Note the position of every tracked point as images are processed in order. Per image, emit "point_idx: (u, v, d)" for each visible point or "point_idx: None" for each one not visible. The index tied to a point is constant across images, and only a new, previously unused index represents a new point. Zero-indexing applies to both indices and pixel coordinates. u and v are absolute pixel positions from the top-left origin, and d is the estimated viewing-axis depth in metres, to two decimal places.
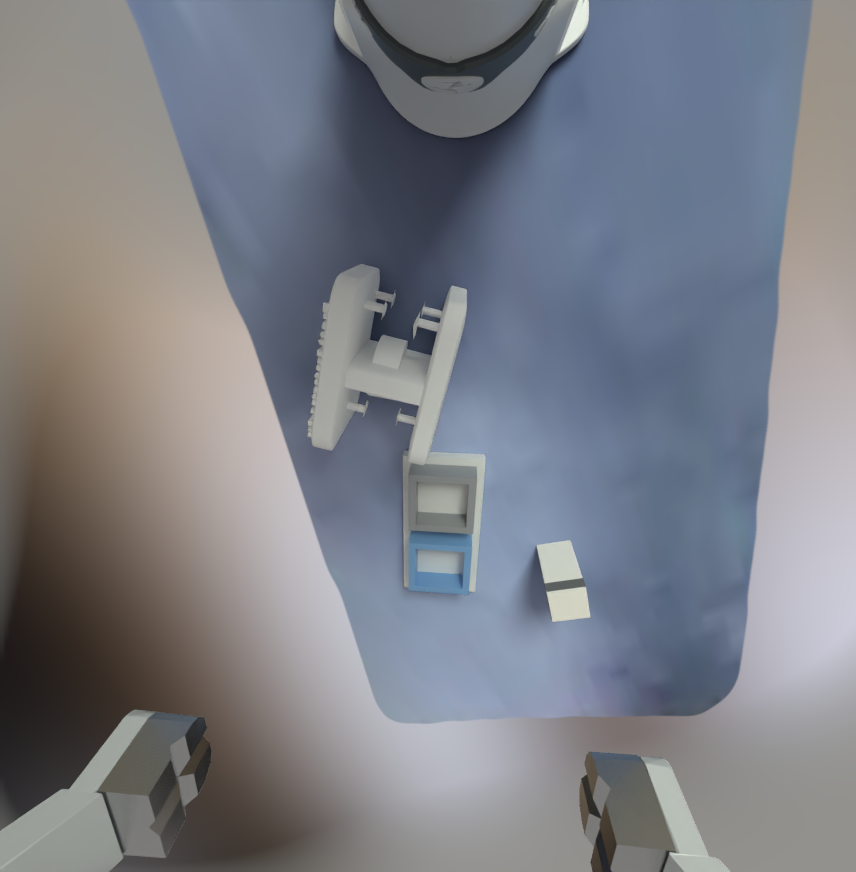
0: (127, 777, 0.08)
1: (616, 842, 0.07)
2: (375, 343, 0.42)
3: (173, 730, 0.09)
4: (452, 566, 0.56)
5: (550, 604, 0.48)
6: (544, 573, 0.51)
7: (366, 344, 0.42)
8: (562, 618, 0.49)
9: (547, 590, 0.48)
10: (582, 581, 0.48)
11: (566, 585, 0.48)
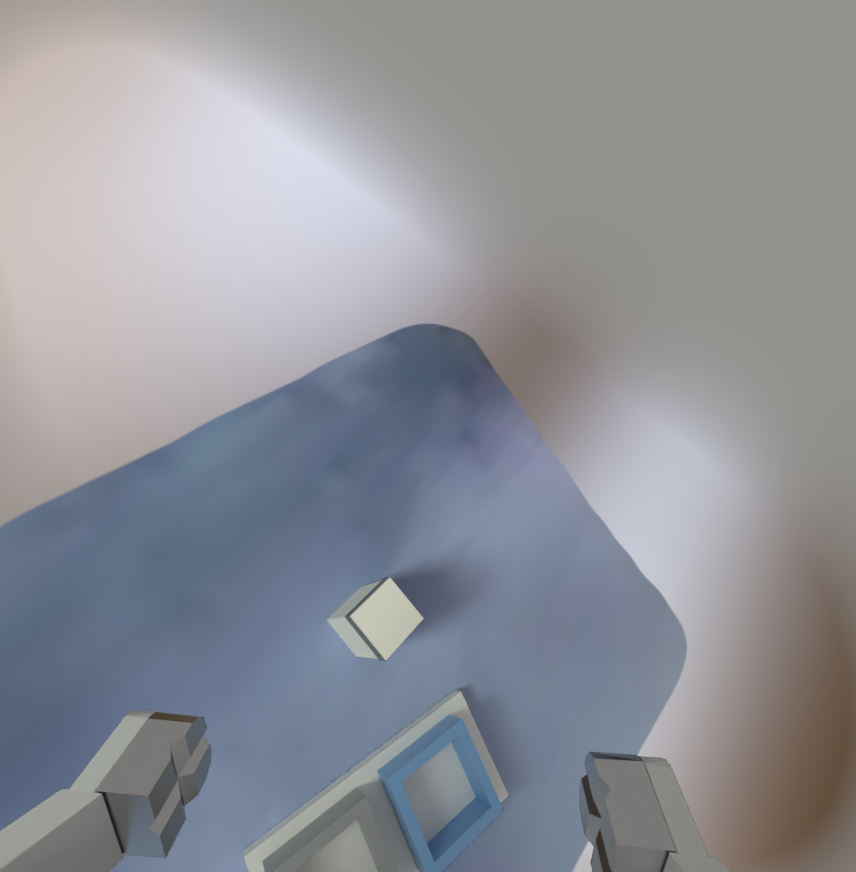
0: (127, 777, 0.08)
1: (616, 842, 0.07)
2: None
3: (173, 730, 0.09)
4: (441, 753, 0.38)
5: (399, 642, 0.33)
6: (371, 656, 0.35)
7: None
8: (411, 610, 0.34)
9: (382, 658, 0.33)
10: (347, 618, 0.33)
11: (363, 636, 0.33)
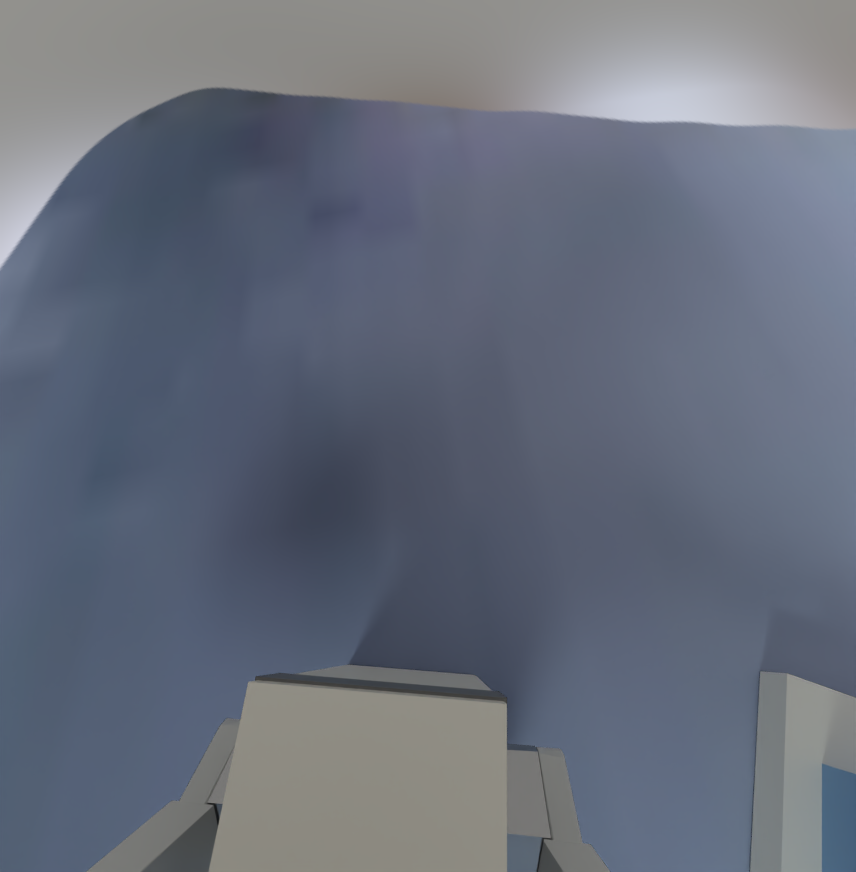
0: None
1: None
2: None
3: None
4: None
5: None
6: None
7: None
8: (431, 725, 0.07)
9: None
10: None
11: None
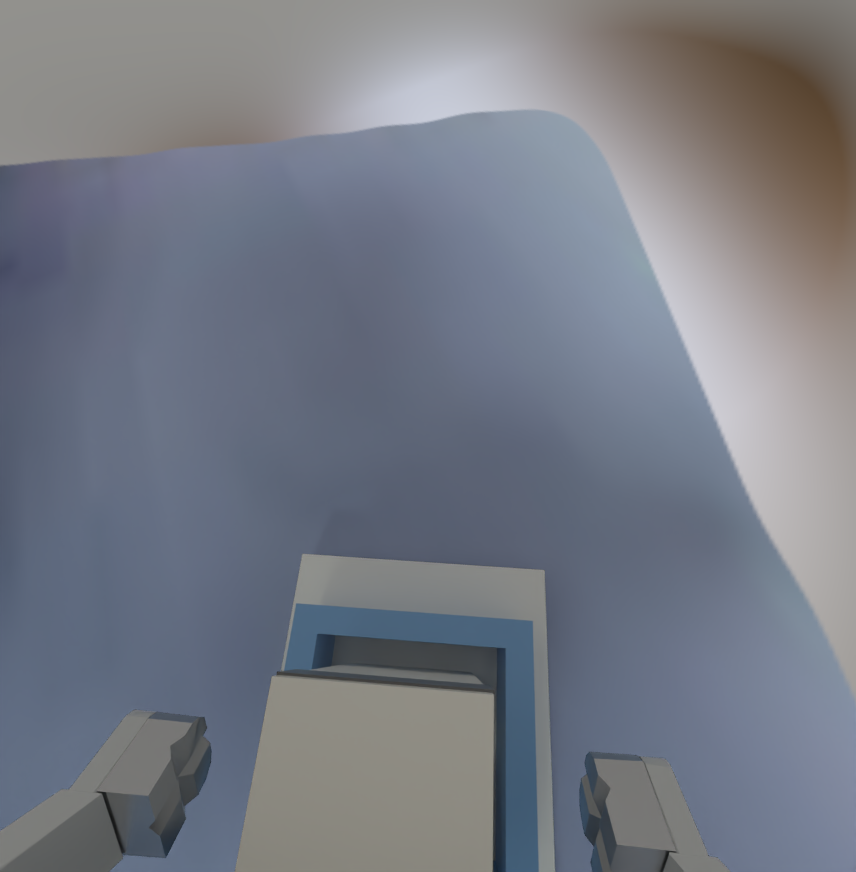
0: (127, 777, 0.08)
1: (616, 842, 0.07)
2: None
3: (173, 730, 0.09)
4: None
5: None
6: None
7: None
8: (429, 712, 0.08)
9: None
10: None
11: None
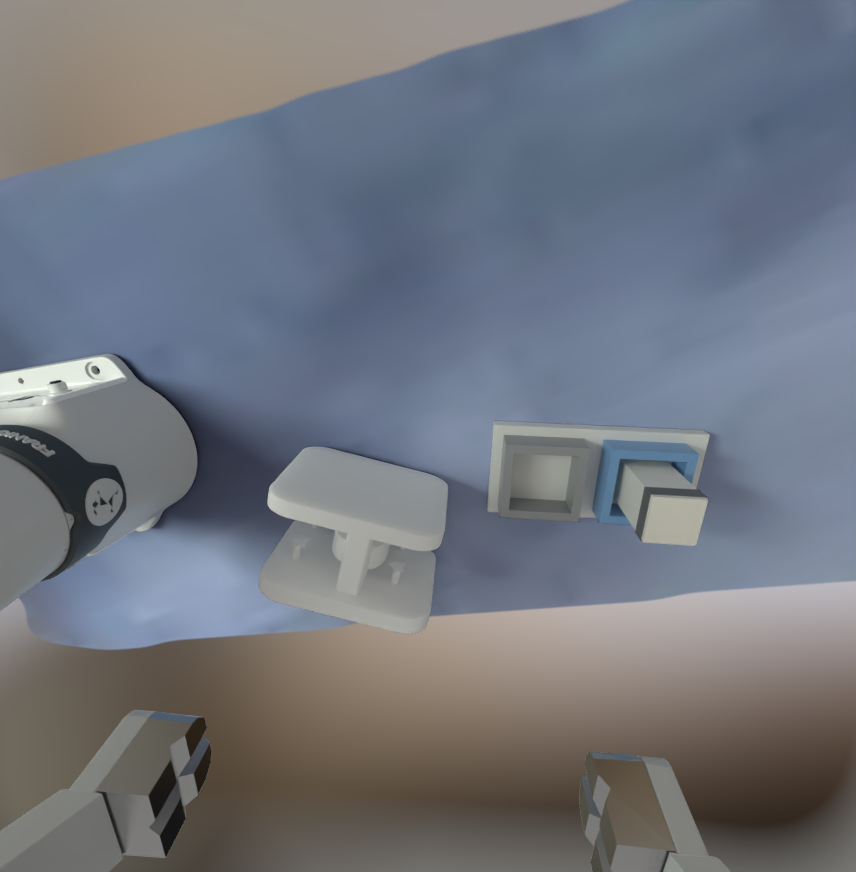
0: (127, 777, 0.08)
1: (616, 842, 0.07)
2: None
3: (173, 730, 0.09)
4: None
5: (662, 542, 0.35)
6: (629, 519, 0.38)
7: None
8: (694, 533, 0.35)
9: (640, 537, 0.36)
10: (646, 491, 0.35)
11: (643, 512, 0.35)
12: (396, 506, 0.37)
